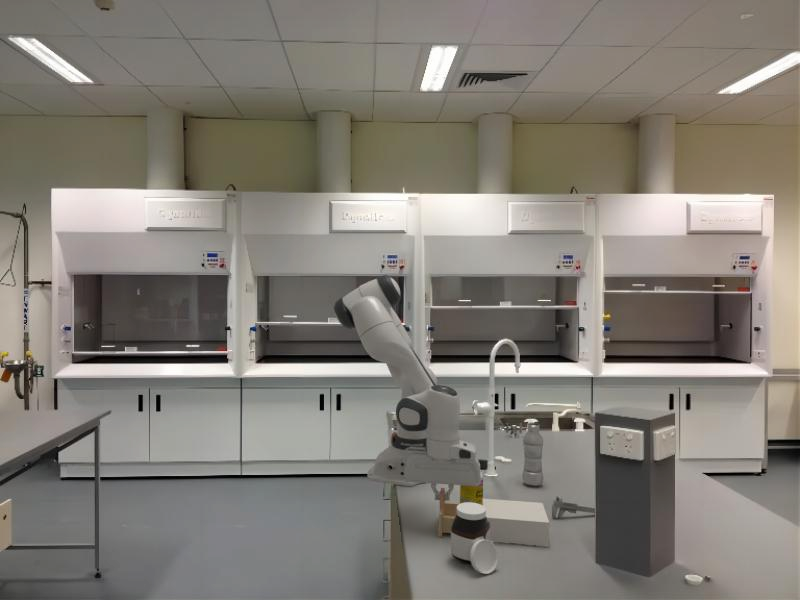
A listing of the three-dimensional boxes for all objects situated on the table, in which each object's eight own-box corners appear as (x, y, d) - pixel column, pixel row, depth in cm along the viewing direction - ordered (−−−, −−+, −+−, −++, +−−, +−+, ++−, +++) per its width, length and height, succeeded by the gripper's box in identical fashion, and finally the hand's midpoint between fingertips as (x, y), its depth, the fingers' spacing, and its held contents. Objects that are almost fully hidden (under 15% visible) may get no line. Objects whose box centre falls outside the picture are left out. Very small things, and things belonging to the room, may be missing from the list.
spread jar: (465, 544, 123) (466, 497, 123) (508, 558, 116) (509, 508, 116) (441, 565, 113) (442, 514, 113) (487, 581, 106) (487, 527, 106)
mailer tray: (438, 536, 126) (438, 500, 126) (441, 516, 138) (441, 482, 138) (503, 542, 123) (504, 505, 123) (500, 520, 136) (501, 486, 136)
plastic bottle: (544, 489, 159) (545, 427, 159) (522, 487, 161) (523, 426, 161) (542, 482, 166) (543, 422, 166) (521, 480, 167) (522, 421, 167)
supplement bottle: (477, 514, 140) (478, 469, 140) (456, 509, 143) (456, 464, 143) (486, 506, 146) (487, 462, 146) (465, 501, 149) (466, 458, 149)
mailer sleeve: (483, 541, 124) (483, 517, 124) (482, 520, 136) (482, 498, 136) (548, 546, 122) (549, 522, 122) (542, 525, 134) (542, 502, 134)
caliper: (553, 520, 138) (553, 497, 138) (551, 518, 139) (552, 496, 139) (619, 515, 141) (620, 493, 141) (617, 514, 142) (617, 492, 142)
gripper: (402, 448, 130) (401, 501, 130) (481, 453, 127) (480, 507, 127) (405, 442, 137) (405, 492, 137) (481, 446, 133) (480, 497, 134)
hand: (442, 499), depth 132 cm, fingers closed on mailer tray
